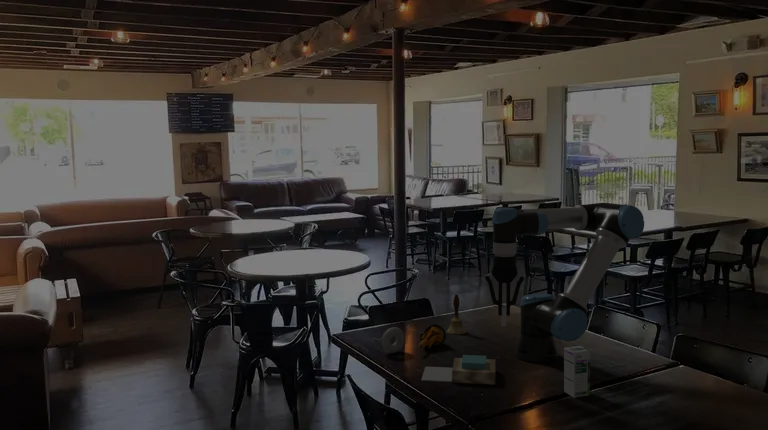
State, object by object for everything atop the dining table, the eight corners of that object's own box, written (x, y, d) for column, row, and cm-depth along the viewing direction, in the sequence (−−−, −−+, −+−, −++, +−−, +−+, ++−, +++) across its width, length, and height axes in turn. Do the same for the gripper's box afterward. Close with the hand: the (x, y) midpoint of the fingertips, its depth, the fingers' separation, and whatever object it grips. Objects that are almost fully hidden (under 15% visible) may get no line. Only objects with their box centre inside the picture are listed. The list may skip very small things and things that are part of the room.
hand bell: (443, 330, 269) (443, 293, 267) (461, 328, 271) (461, 291, 270) (451, 335, 261) (451, 297, 259) (469, 333, 263) (469, 296, 262)
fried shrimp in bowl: (451, 331, 251) (444, 329, 234) (439, 356, 250) (431, 356, 233) (431, 321, 254) (422, 317, 237) (419, 346, 253) (409, 344, 236)
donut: (385, 356, 235) (384, 330, 234) (379, 354, 238) (379, 328, 237) (406, 351, 241) (406, 326, 240) (401, 349, 244) (400, 324, 243)
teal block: (486, 361, 216) (486, 355, 216) (486, 369, 208) (486, 363, 208) (462, 360, 218) (462, 354, 217) (461, 368, 210) (461, 362, 210)
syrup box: (573, 398, 194) (574, 352, 192) (563, 391, 199) (563, 346, 198) (590, 396, 195) (591, 350, 194) (579, 389, 201) (579, 344, 199)
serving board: (495, 370, 219) (495, 359, 218) (495, 384, 206) (495, 372, 205) (454, 368, 221) (454, 357, 221) (452, 382, 208) (452, 370, 208)
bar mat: (454, 368, 221) (454, 367, 221) (451, 382, 208) (451, 381, 208) (425, 367, 223) (425, 366, 223) (421, 380, 210) (421, 379, 210)
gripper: (524, 253, 210) (523, 322, 212) (484, 252, 212) (484, 321, 215) (525, 257, 203) (524, 329, 205) (484, 256, 205) (483, 327, 207)
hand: (503, 325), depth 210 cm, fingers closed
